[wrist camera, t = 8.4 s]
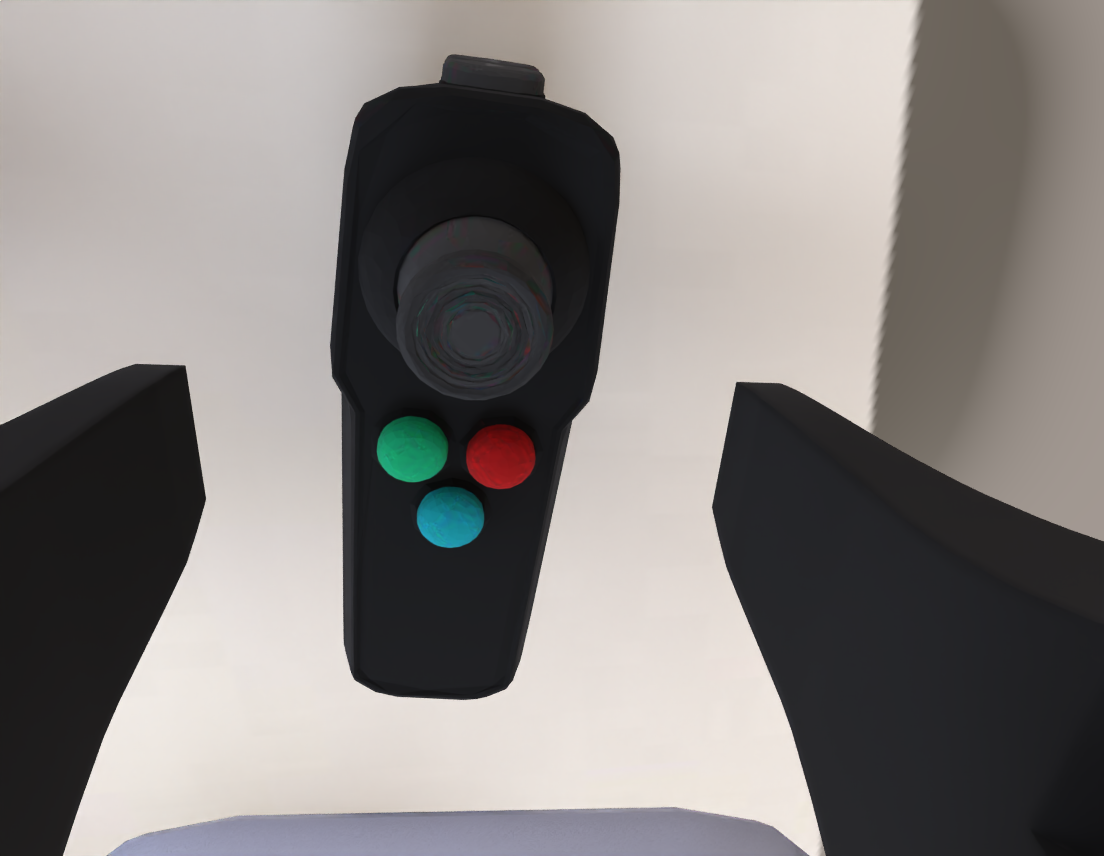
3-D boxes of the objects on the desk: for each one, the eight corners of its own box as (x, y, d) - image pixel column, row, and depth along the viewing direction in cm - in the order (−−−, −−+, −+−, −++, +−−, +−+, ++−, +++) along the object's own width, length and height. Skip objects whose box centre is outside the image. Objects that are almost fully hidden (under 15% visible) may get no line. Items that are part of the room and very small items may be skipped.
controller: (587, 44, 19) (682, 136, 10) (517, 509, 25) (539, 818, 16) (387, 14, 18) (305, 85, 10) (364, 497, 24) (301, 811, 15)
